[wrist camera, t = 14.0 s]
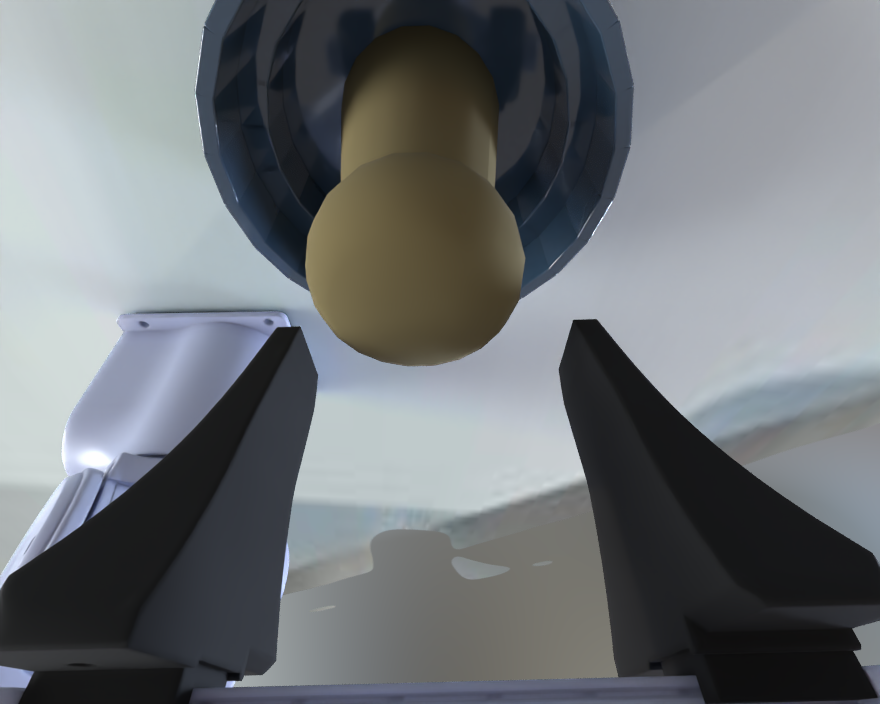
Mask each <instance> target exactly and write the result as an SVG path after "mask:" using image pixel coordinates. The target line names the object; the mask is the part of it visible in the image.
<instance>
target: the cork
mask: <svg viewBox="0 0 880 704" xmlns="http://www.w3.org/2000/svg"><path fill="white" fill-rule="evenodd" d="M498 117H499V102H498V97H497V93H496V89H495V84H494V80H493V77H492V75H491V74H490V72H489V70H488V69H487V67H486V65H485V64H484V62H483V60H482V59H481V57H480V55H479V54H478V53H477V52H476V51H475V50H474V49H473V48H471V47H470V46H469V45H468V44H467V43H465V42H464V41H463V40H462V39H461V38H460V37H458V36H457V35H455V34H452V33H450V32H447V31H444V30H441V29H438V28H436V27H433V26H430V25H427V26H401V27H399V28H397V29H395V30H392V31H390V32H388V33H386V34H384V35H381V36H379V37H377V38H375V39H374V40H373V41H372V42H371V43H370V44H369V45H368V46H367V47H366V48H365V49H364V50H363V51H362V52H361V53H360V55H359V56H358V57H357V58H356V59H355V62H354V64H353V66H352V68H351V70H350V72H349V74H348V77H347V79H346V81H345V83H344V92H343V100H342V108H341V182H340V183H339V184H338V185H337V186H336V187H335V188H334V189H332V190H331V191H330V192H329V193H328V194H327V196H326V198H325V199H324V201H323V203H322V205H321V207H320V209H319V211H318V213H317V215H316V217H315V218H314V220H313V222H312V225H311V228H310V231H309V234H308V237H307V249H306V261H305V269H306V280H307V284H308V287H309V290H310V293H311V296H312V299H313V302H314V305H315V307H316V309H317V310H318V312H319V313H320V315H321V316H322V318H323V319H324V320H325V322H326V323H327V324H328V326H329V327H330V328H331V330H332V331H333V332H334V333H335V335H336V336H337V337H338V338H339V339H341V340H342V341H343V342H345V343H346V344H347V345H349V346H350V347H352V348H353V349H354V350H356V351H357V352H359V353H361V354H364V355H366V356H369V357H371V358H374V359H376V360H379V361H381V362H386V363H392V364H397V365H403V366H434V365H438V364H443V363H447V362H451V361H455V360H459V359H461V358H463V357H465V356H467V355H469V354H471V353H473V352H475V351H477V350H479V349H481V348H482V347H483V346H484V345H486V344H487V343H488V342H489V341H490V340H491V339H492V338H493V337H494V336H496V335H497V334H498V333H499V332H500V330H501V329H502V328H503V326H504V325H505V324H506V322H507V320H508V319H509V317H510V315H511V313H512V312H513V310H514V308H515V306H516V305H517V303H518V301H519V298H520V291H521V285H522V278H523V271H524V264H525V255H524V251H523V247H522V243H521V239H520V235H519V231H518V227H517V224H516V220H515V216H514V214H513V213H512V211H511V210H510V209H509V207H508V206H507V204H506V203H505V202H504V200H503V199H502V198H501V196H500V195H499V193H498V192H497V191H496V189H495V174H496V155H497V136H498Z"/></svg>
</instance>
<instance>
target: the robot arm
mask: <svg viewBox="0 0 880 704" xmlns="http://www.w3.org/2000/svg"><path fill="white" fill-rule="evenodd" d="M268 319H270V320H272V321H270V320H268ZM117 324H118V325H119V326H120V328H121V329H122V330H123V334H122V336H121V337H120V339H119V340H118V342H117V343H116V345H115V346H114V348H113V349H112V351H111V352H110V354H109V355H108V357H107V359H106V360H105V362H104V363H103V365H102V366H101V368H100V369H99V371H98V372H97V374H96V375H95V377H94V378H93V380H92V382H91V383H90V385H89V386H88V388H87V389H86V391H85V392H84V394H83V395H82V397H81V398H80V400H79V401H78V403H77V404H76V406H75V408H74V409H73V411H72V413H71V415H70V417H69V419H68V421H67V424H66V427H65V431H64V435H63V441H62V460H63V465H64V468H65V470H66V472H67V474H68V477H66V478H65V479H64V480H63V481H62V482H61V483H60V485H59V486H58V487H57V489H56V490H55V491H54V493H53V494H52V495H51V497H50V498H49V500H48V501H47V503H46V504H45V506H44V507H43V509H42V510H41V512H40V513H39V515H38V516H37V518H36V519H35V521H34V522H33V524H32V525H31V527H30V528H29V530H28V532H27V533H26V535H25V536H24V538H23V539H22V541H21V543H20V544H19V546H18V548H17V549H16V551H15V552H14V554H13V556H12V557H11V559H10V561H9V562H8V564H7V566H6V567H5V569H4V571H3V573H2V574H1V576H0V704H880V665H871V666H861V665H860V663H859V661H858V659H857V657H856V656H855V654H854V652H853V651H856V650H861V644H860V642H859V640H858V638H857V637H856V635H855V633H854V631H853V630H852V628H855V627H858V626H861V625H865V624H869V623H872V622H876V621H880V563H879V562H878V560H877V559H876V558H875V556H874V555H873V553H871V552H870V551H868V550H867V549H865V548H863V547H862V546H860V545H859V544H857V543H855V542H854V541H852V540H850V539H849V538H847V537H845V536H844V535H842V534H841V533H839V532H837V531H836V530H834V529H833V528H831V527H829V526H828V525H826V524H824V523H823V522H821V521H819V520H818V519H816V518H815V517H813V516H812V515H810V514H808V513H807V512H805V511H804V510H803V509H801V508H800V507H798V506H797V505H795V504H794V503H792V502H791V501H789V500H788V499H786V498H785V497H783V496H782V495H781V494H779V493H778V492H776V491H775V490H773V489H772V488H771V487H769V486H768V485H766V484H765V483H764V482H762V481H761V480H760V479H758V478H757V477H756V476H754V475H753V474H752V473H750V472H749V471H748V470H746V469H745V468H744V467H743V466H741V465H740V464H739V463H737V462H736V461H735V460H733V459H732V458H731V457H730V456H728V455H727V454H726V453H725V452H723V451H722V450H721V449H720V448H718V447H717V446H716V445H715V444H714V443H713V442H711V441H710V440H709V439H708V438H707V437H706V436H705V435H703V434H702V433H701V432H700V431H699V430H698V429H697V428H695V427H694V426H693V425H692V424H691V423H690V422H689V421H688V420H687V419H686V418H685V417H684V416H683V415H681V414H680V413H679V412H678V411H677V410H676V409H675V408H674V407H673V406H672V405H671V404H670V403H669V402H668V401H667V400H666V399H665V398H664V396H663V395H662V394H661V393H660V392H659V391H658V390H657V389H656V388H655V387H654V386H653V385H652V384H651V383H650V381H649V380H648V379H647V378H646V377H645V376H644V375H643V374H642V373H641V371H640V370H639V369H638V368H637V367H636V366H635V365H634V363H633V362H632V361H631V360H630V359H629V358H628V356H627V355H626V354H625V353H624V352H623V350H622V349H621V348H620V347H619V346H618V344H617V343H616V342H615V341H614V340H613V338H612V337H611V336H610V335H609V333H608V332H607V331H606V330H605V329H604V327H603V326H602V325H601V324H600V323H599V321H598V320H597V319H587V320H573V323H572V326H571V330H570V333H569V336H568V340H567V343H566V346H565V350H564V353H563V357H562V360H561V363H560V367H559V375H560V382H561V388H562V394H563V400H564V405H565V408H566V412H567V415H568V419H569V422H570V426H571V429H572V432H573V436H574V439H575V442H576V446H577V449H578V453H579V456H580V459H581V463H582V466H583V469H584V473H585V476H586V480H587V484H588V488H589V492H590V497H591V502H592V508H593V513H594V518H595V524H596V529H597V535H598V541H599V547H600V553H601V559H602V565H603V572H604V579H605V586H606V593H607V601H608V609H609V617H610V625H611V633H612V642H613V653H614V660H615V664H616V668H617V672H618V677H617V678H580V679H579V678H577V679H544V680H543V679H538V680H500V681H461V682H423V683H383V684H344V685H305V686H266V687H233V685H234V683H235V681H242V679H243V677H244V675H263V674H264V673H265V672H266V671H267V670H268V669H269V668H270V667H271V666H272V665H273V664H274V663H275V661H276V653H277V638H278V624H279V611H280V600H281V598H282V595H283V591H284V588H285V584H286V580H287V574H288V568H289V549H288V544H287V536H288V528H289V521H290V514H291V507H292V500H293V495H294V490H295V485H296V481H297V477H298V473H299V469H300V465H301V461H302V457H303V453H304V449H305V445H306V441H307V437H308V433H309V429H310V425H311V421H312V416H313V412H314V407H315V399H316V390H317V380H318V374H317V371H316V368H315V366H314V363H313V360H312V357H311V354H310V352H309V349H308V346H307V343H306V340H305V338H304V335H303V332H302V329H301V327H300V326H299V327H291V325H290V322H289V320H288V317H287V316H286V315H285V314H284V313H282V312H278V311H267V312H210V313H153V314H122V315H120V316H119V317H118V319H117Z"/></svg>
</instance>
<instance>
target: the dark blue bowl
mask: <svg viewBox="0 0 880 704" xmlns="http://www.w3.org/2000/svg"><path fill="white" fill-rule="evenodd" d="M427 25H430V26H433V27H436V28H438V29H441V30H444V31H447V32H450V33H452V34H455V35H457V36H458V37H460V38H461V39H462V40H463V41H464V42H465V43H467V44H468V45H469V46H470V47H471V48H473V49H474V50H475V51H476V52H477V53H478V54H479V55H480V57H481V59H482V60H483V62H484V64H485V65H486V67H487V69H488V70H489V72H490V74H491V75H492V77H493V80H494V84H495V89H496V93H497V97H498V102H499V117H498V136H497V155H496V174H495V189H496V191H497V192H498V193H499V195H500V196H501V198H502V199H503V200H504V202H505V203H506V204H507V206H508V207H509V209H510V210H511V211H512V213H513V214H514V216H515V220H516V224H517V227H518V231H519V235H520V239H521V243H522V247H523V251H524V255H525V264H524V271H523V278H522V285H521V291H520V298H519V300H520V299H521V298H523V297H525V296H526V295H528V294H529V293H531V292H532V291H534V290H535V289H537V288H538V287H539V286H541V285H542V284H544V283H545V282H547V281H548V280H550V279H551V278H553V277H554V276H556V275H557V274H558V273H559V272H560V271H561V270H562V269H563V268H564V267H565V266H566V265H567V264H568V263H569V262H570V260H571V259H572V258H573V257H574V256H575V255H576V254H577V253H578V252H579V251H580V250H581V249H582V248H583V247H584V246H585V245H586V244H587V243H588V241H589V240H590V238H591V237H592V235H593V233H594V232H595V230H596V228H597V227H598V225H599V223H600V222H601V220H602V218H603V217H604V215H605V213H606V212H607V210H608V208H609V207H610V205H611V203H612V202H613V199H614V197H615V195H616V192H617V188H618V185H619V182H620V179H621V176H622V172H623V169H624V166H625V163H626V160H627V156H628V153H629V150H630V145H631V131H632V112H633V93H634V87H633V85H634V83H633V79H632V74H631V70H630V65H629V61H628V56H627V52H626V47H625V43H624V39H623V34H622V30H621V25H620V21H619V20H618V17H617V15H616V13H615V11H614V10H613V8H612V6H611V4H610V3H609V1H608V0H215V2H214V4H213V6H212V8H211V10H210V12H209V15H208V17H207V19H206V21H205V24H204V27H203V31H202V39H201V46H200V54H199V61H198V69H197V76H196V84H195V98H196V105H197V112H198V119H199V126H200V133H201V140H202V147H203V152H204V156H205V158H206V161H207V163H208V166H209V168H210V170H211V173H212V175H213V178H214V180H215V183H216V185H217V188H218V190H219V192H220V195H221V197H222V200H223V202H224V204H226V205H225V206H226V208H227V209H228V210H229V212H230V213H231V215H232V216H233V217H234V219H235V220H236V222H237V223H238V225H239V226H240V227H241V229H242V230H243V232H244V233H245V234H246V236H247V237H248V239H249V240H250V242H251V243H252V244H253V246H255V248H256V249H257V250H258V251H259V252H260V253H261V254H262V255H263V256H264V257H266V258H267V259H268V260H269V261H270V262H271V263H272V264H273V265H274V266H275V267H276V268H277V269H279V270H280V271H281V272H282V273H283V274H284V275H285V276H286V277H287V278H290V280H292V281H293V282H295V283H297V284H298V285H300V286H301V287H303V288H305V289H306V290H308V291H310V290H309V287H308V284H307V280H306V269H305V261H306V249H307V237H308V234H309V231H310V228H311V225H312V222H313V220H314V218H315V217H316V215H317V213H318V211H319V209H320V207H321V205H322V203H323V201H324V199H325V198H326V196H327V194H328V193H329V192H330V191H331V190H332V189H334V188H335V187H336V186H337V185H338V184H339V183H340V182H341V108H342V100H343V92H344V83H345V81H346V79H347V77H348V74H349V72H350V70H351V68H352V66H353V64H354V62H355V59H356V58H357V57H358V56H359V55H360V53H361V52H362V51H363V50H364V49H365V48H366V47H367V46H368V45H369V44H370V43H371V42H372V41H373V40H374V39H375V38H377V37H379V36H381V35H384V34H386V33H388V32H390V31H392V30H395V29H397V28H399V27H401V26H427Z"/></svg>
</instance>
